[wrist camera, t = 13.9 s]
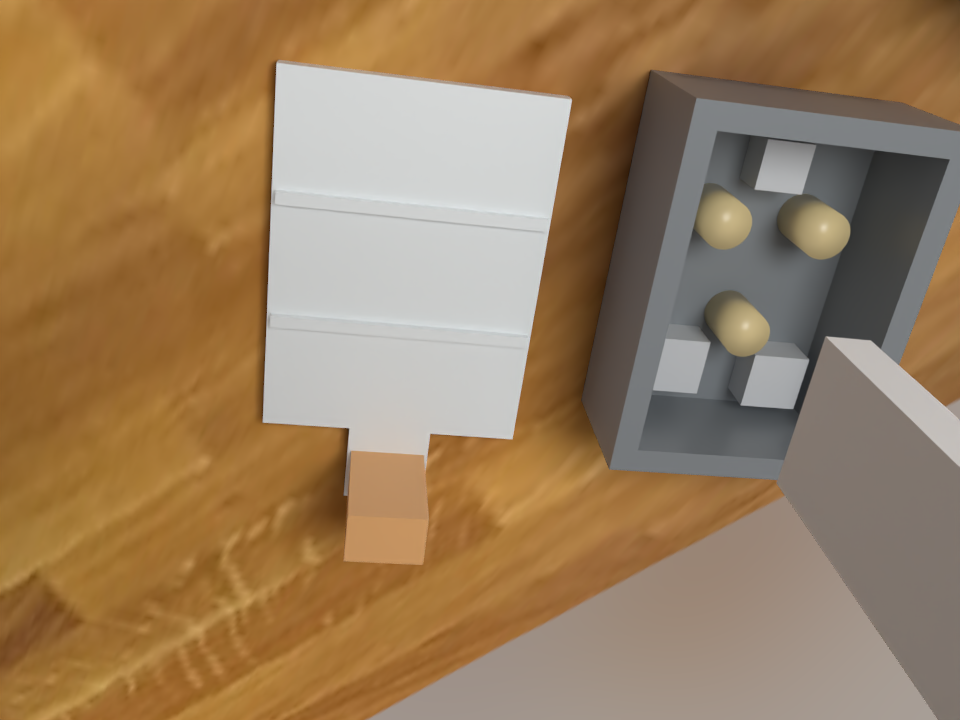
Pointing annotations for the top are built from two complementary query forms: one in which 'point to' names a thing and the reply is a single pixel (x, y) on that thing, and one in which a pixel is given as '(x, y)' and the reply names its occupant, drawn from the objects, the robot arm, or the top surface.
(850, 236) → the tub
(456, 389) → the lid
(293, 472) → the top surface
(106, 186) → the top surface
